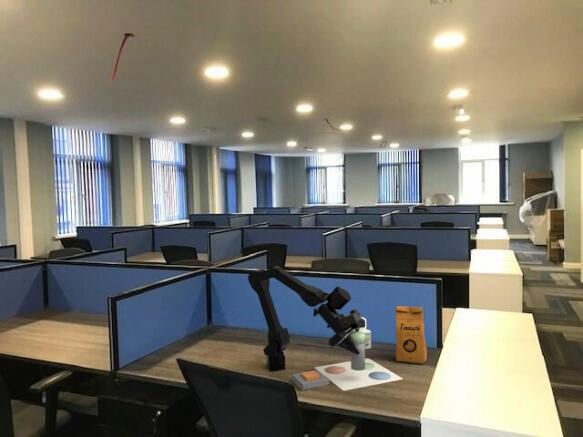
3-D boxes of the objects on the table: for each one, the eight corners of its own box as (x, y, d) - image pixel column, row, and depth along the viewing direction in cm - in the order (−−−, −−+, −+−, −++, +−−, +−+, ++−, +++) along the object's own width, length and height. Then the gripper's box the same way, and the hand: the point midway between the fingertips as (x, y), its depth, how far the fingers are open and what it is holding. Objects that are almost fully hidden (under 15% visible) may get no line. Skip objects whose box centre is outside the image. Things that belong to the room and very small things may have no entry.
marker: (355, 371, 167) (354, 336, 166) (348, 366, 171) (347, 332, 171) (368, 369, 168) (367, 334, 168) (360, 364, 173) (360, 330, 173)
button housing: (303, 391, 163) (302, 384, 163) (292, 381, 173) (292, 374, 173) (329, 386, 167) (329, 379, 167) (317, 376, 176) (317, 370, 176)
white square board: (343, 392, 161) (343, 390, 161) (314, 369, 184) (314, 367, 184) (403, 381, 170) (403, 378, 170) (368, 360, 192) (368, 357, 192)
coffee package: (425, 366, 184) (425, 310, 183) (393, 363, 188) (392, 308, 187) (428, 358, 193) (428, 304, 192) (397, 355, 198) (397, 302, 197)
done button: (306, 383, 167) (306, 377, 166) (301, 378, 171) (301, 372, 171) (319, 381, 168) (319, 375, 168) (313, 376, 173) (313, 370, 173)
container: (356, 351, 204) (355, 321, 203) (347, 345, 211) (346, 317, 211) (371, 348, 207) (371, 318, 207) (361, 343, 214) (361, 314, 214)
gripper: (336, 309, 162) (367, 345, 158) (355, 298, 179) (384, 330, 174) (316, 329, 167) (346, 365, 162) (336, 317, 183) (364, 349, 178)
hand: (361, 351), depth 169 cm, fingers closed on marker, 5 cm apart
